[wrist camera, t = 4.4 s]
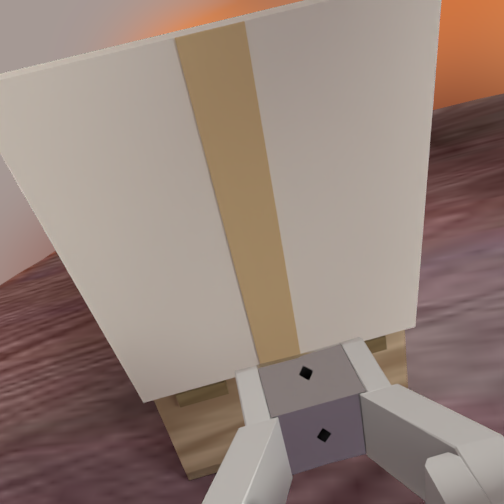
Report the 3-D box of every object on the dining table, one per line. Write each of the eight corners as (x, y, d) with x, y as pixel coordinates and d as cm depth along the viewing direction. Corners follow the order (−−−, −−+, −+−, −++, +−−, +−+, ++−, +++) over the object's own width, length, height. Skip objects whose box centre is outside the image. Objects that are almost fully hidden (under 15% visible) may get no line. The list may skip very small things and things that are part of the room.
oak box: (414, 424, 32) (409, 323, 28) (189, 489, 32) (148, 396, 27) (329, 283, 49) (318, 206, 44) (180, 324, 48) (153, 249, 43)
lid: (409, 317, 28) (416, 328, 28) (143, 391, 28) (143, 404, 27) (431, -31, 17) (445, -27, 16) (-31, 81, 16) (-39, 89, 15)
